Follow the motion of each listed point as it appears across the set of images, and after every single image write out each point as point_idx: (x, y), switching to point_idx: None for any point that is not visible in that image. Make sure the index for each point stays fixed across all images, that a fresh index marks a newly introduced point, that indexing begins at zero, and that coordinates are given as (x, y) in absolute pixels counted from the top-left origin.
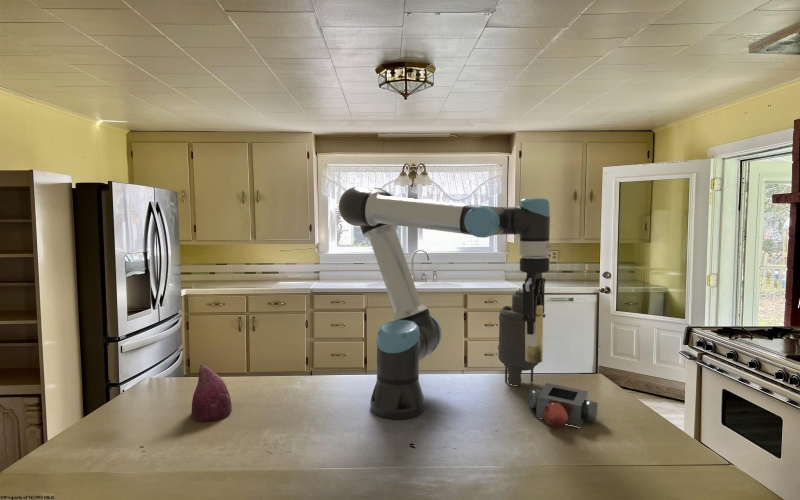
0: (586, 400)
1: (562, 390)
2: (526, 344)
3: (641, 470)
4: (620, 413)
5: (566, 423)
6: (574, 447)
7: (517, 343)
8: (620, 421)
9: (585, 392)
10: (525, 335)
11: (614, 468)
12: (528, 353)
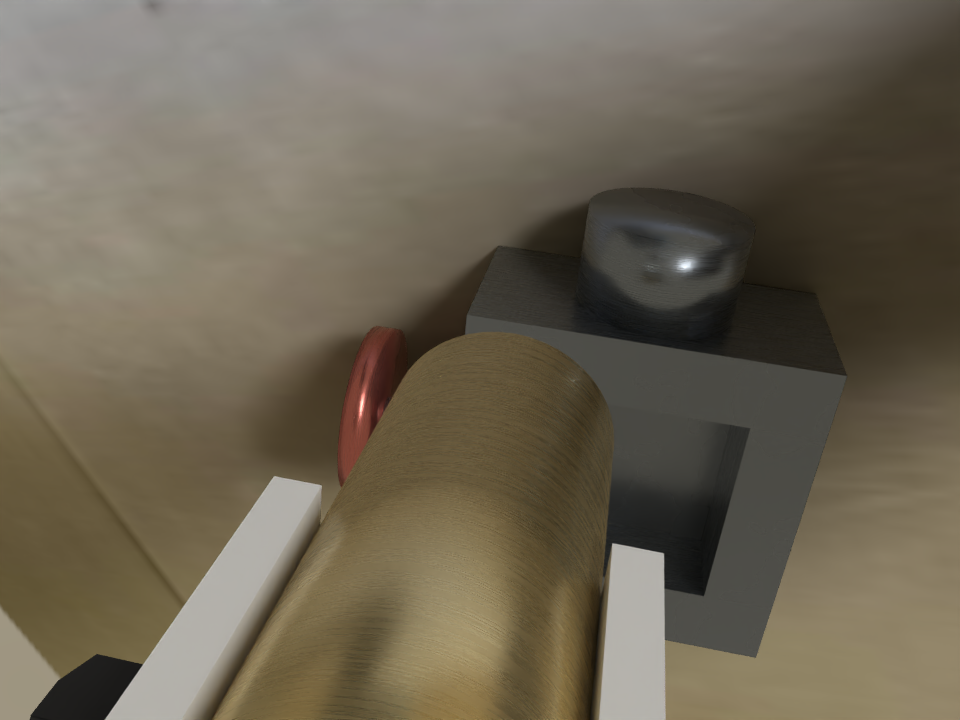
0: None
1: (729, 489)
2: (265, 497)
3: None
4: (805, 706)
5: None
6: (235, 461)
7: None
8: (681, 689)
9: (721, 640)
10: (343, 556)
11: (153, 599)
12: (371, 436)
